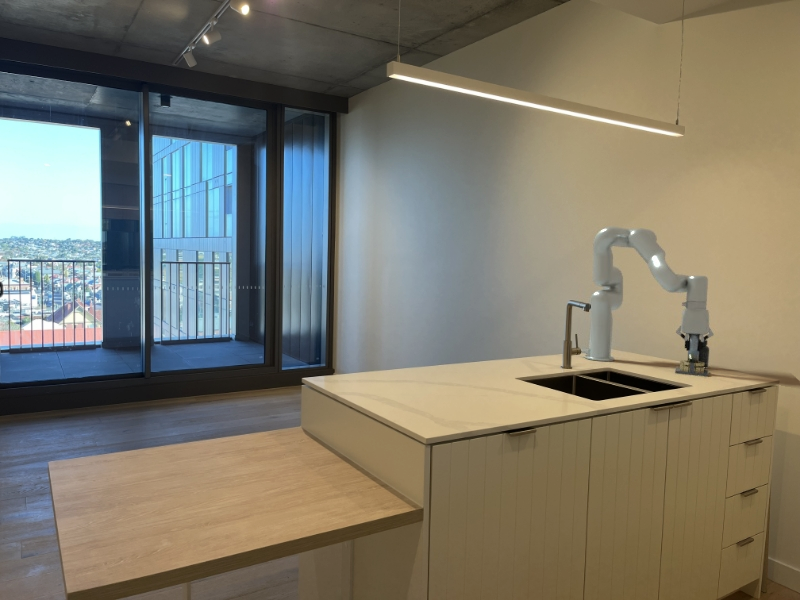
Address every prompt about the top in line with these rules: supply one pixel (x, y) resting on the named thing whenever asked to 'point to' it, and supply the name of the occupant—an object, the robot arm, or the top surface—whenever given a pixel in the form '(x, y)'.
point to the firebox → (691, 368)
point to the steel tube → (693, 348)
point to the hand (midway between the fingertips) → (693, 350)
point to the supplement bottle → (704, 354)
